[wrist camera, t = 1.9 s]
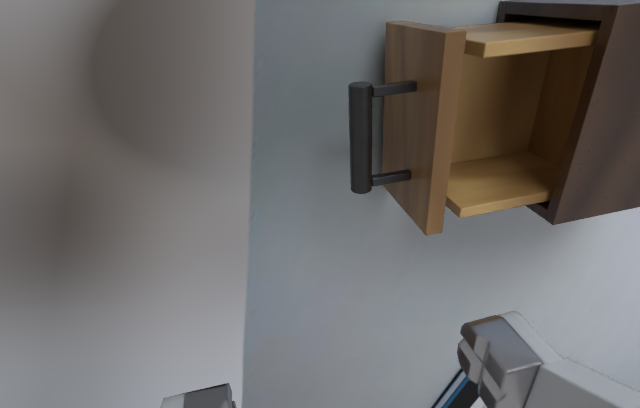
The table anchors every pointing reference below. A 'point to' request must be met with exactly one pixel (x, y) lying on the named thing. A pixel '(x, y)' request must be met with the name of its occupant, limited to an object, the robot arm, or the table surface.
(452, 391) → the sketchbook
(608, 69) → the wooden drawer box
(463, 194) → the wooden pull-out drawer
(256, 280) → the table surface
